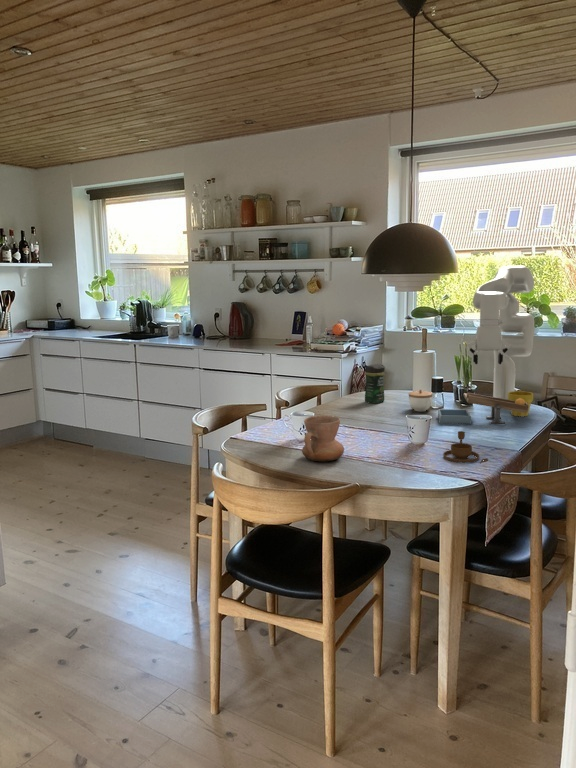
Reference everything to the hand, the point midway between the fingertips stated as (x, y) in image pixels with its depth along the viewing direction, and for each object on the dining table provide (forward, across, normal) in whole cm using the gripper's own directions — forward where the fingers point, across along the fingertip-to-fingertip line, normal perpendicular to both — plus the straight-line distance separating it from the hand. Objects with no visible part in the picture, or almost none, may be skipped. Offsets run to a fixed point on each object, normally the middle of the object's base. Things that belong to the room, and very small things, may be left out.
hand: (487, 363), depth 262 cm
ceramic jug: (+24, +66, +59) cm, 92 cm away
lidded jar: (+24, +26, -17) cm, 39 cm away
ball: (+16, -13, +4) cm, 21 cm away
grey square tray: (+24, +14, +3) cm, 28 cm away
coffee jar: (+24, +46, -34) cm, 62 cm away
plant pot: (+24, -16, -8) cm, 30 cm away
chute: (+17, -3, 0) cm, 18 cm away
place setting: (+25, +16, +53) cm, 61 cm away
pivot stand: (+24, -3, +4) cm, 24 cm away
